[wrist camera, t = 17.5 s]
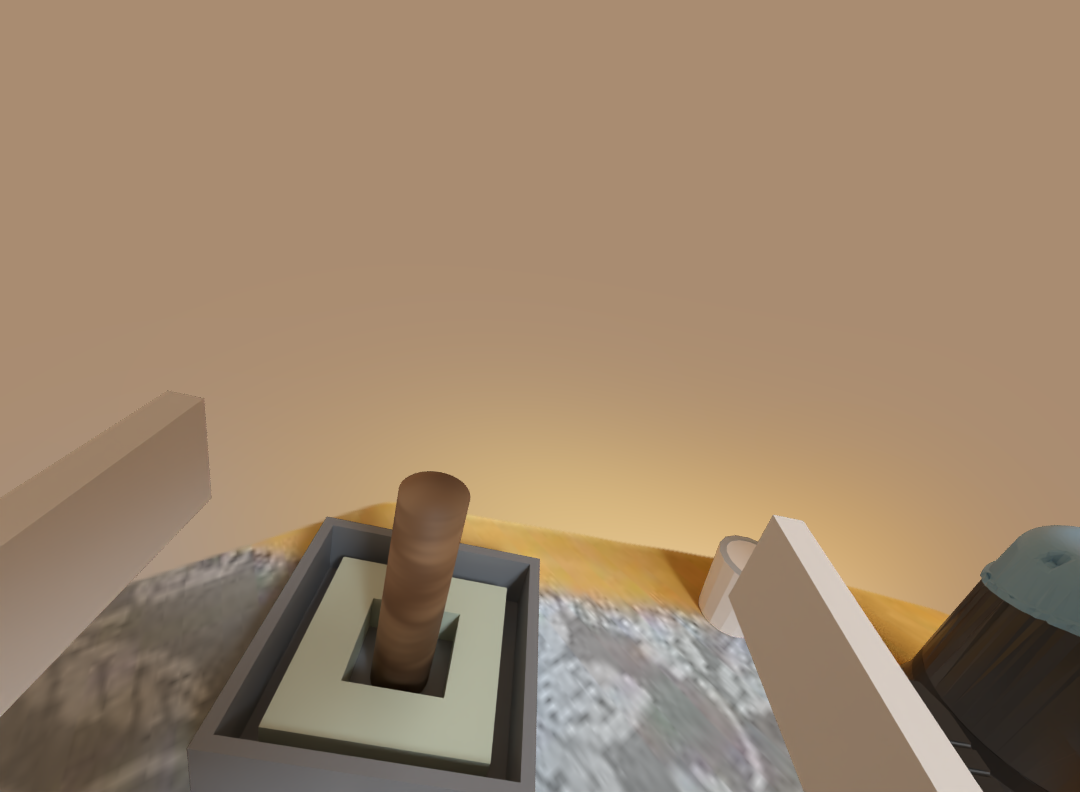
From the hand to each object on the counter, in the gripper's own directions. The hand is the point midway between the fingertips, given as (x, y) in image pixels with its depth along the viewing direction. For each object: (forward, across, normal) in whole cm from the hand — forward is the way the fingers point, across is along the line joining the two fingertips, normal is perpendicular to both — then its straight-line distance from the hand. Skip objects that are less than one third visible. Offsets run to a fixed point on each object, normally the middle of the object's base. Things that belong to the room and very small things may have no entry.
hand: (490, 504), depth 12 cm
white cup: (+26, +26, -29) cm, 47 cm away
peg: (+14, -3, -27) cm, 30 cm away
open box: (+14, -3, -28) cm, 31 cm away
